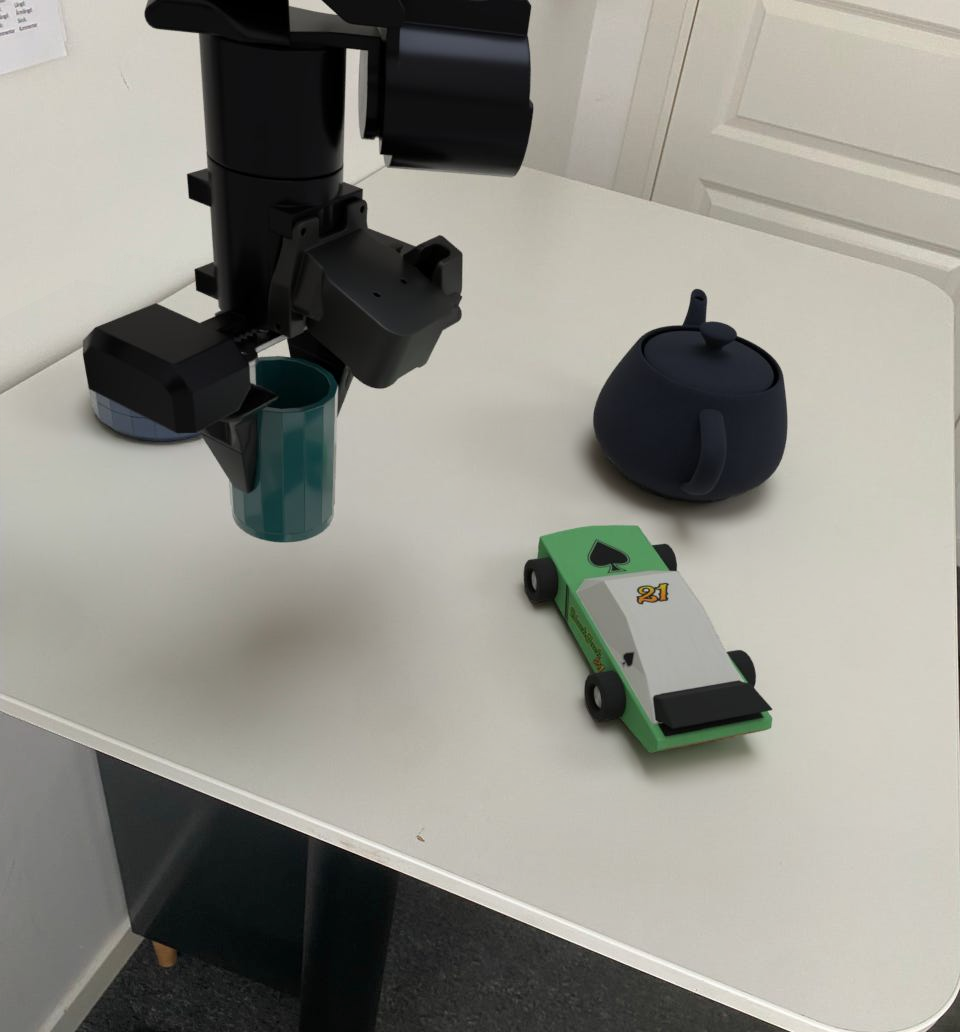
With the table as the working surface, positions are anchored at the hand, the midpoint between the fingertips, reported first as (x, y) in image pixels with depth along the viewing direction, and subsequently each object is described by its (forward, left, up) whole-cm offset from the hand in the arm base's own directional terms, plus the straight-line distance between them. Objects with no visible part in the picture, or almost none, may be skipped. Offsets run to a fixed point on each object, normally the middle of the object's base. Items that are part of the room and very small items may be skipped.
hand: (281, 466), depth 51 cm
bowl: (-14, +24, -12) cm, 30 cm away
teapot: (+28, +25, -12) cm, 40 cm away
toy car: (+22, +1, -12) cm, 26 cm away
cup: (0, 0, -3) cm, 3 cm away
